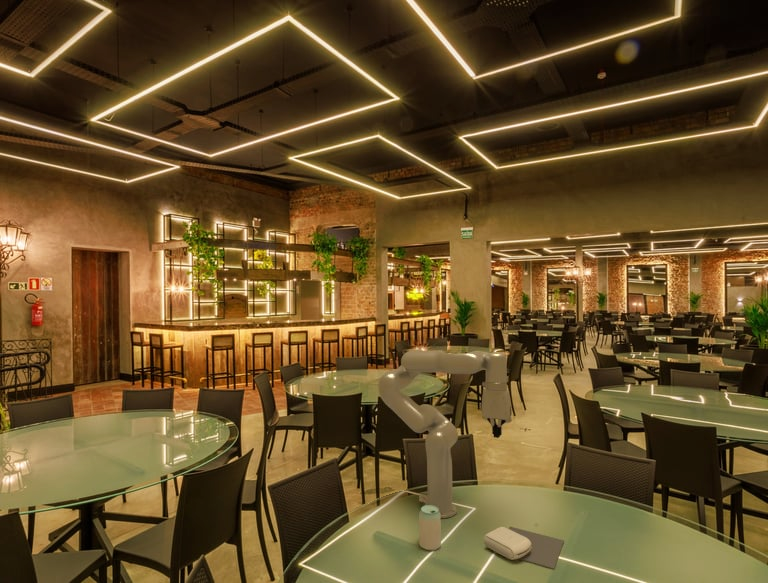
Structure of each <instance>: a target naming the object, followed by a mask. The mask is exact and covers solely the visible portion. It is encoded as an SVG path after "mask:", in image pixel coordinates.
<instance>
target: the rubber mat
mask: <svg viewBox="0 0 768 583" xmlns="http://www.w3.org/2000/svg"><path fill="white" fill-rule="evenodd" d="M508 529H510V530H512V531H514V532H516V533H518V534H520V535H522V536H524V537H526V538H528V539H529V540H530V542H531V547H532V548H531V550H530V551H529V552H528V553H527V554H526V555H525V556H523V557H521V558H518V559H517V560H519V561H523V562H527V563H530V564H534V565H535V566H540V567H542V568H545V569H550V570H555V569H556V566H557V562H558V560H559V557H560V554H561V552H562V549H561V548H563V545H564V542H565V540H563V539H559V538H556V537H552V536H547V535H545V534H544V535H543V534H540V533H536V532H532V531H529V530H526V529H521V528H518V527H513V526H509V527H508ZM560 551H561V552H560ZM494 553H495V554H498V555H500V554H499V553H497V552H495V551H494Z"/></svg>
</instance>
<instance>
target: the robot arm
mask: <svg viewBox="0 0 768 583" xmlns="http://www.w3.org/2000/svg"><path fill="white" fill-rule="evenodd" d="M507 362H508V358H507V355H506V354H505V353H504V352H500V351H499V352H497V351H494V352H492V351H491V352H489V351H488V352H486V351H483V350H473V351H471V352H467V353H464V352H463V353H449V352H444V351H443V350H422V349H418V348H417V349H412V350H408V351H407V352H405V353H404V354H403V355H402V357H401V359H400V364H401V365H400V366H398V367H397V368H395V369H392V370H389V371H387V372H385V373H384V374H383V375H381V377H380V378H379V381H378V394H379V396H380V399H381V400H382V401H383V403H384V404H385V405H386V406H387V407H388V408H390V410H392V412H394V414H396V415H397V416H398V417H399V418H400V419H401V420H402V421H403V422H404V423H405V424H406V425H407V426H408V427H409V428H410V429H411V430H412V431H413V432H415V433H417V434H422V433H424V432H426V431H428V433H427V435H426V437H425V451H426V453H425V454H426V463H427V465H426V467H427V470H426V473H427V495H425V494H422V493H419V495H418V502H420V503H423V506H426V505H433V506H436V507H437V508H438V509H439V510H438V511H439V512H440V514H441V519H447V518H452V517H454V516H456V514H457V506H456V505H455V504H454V503H453V462H452V461H453V460H452V454H451V448H452V447H453V446H454V445H455V444H456V443H457V441H458V438H459V433H458V430H457V428H456V426H455V425H454V424H453V423H452V422H451V421H450V419H448V418H447V417H446V416H445V415H443V414H442V412H440V411H439V410H438V408H436V407H434V406H433V405H432V404H426V403H423V404H421V405H419V404H417V402H415V401H414V400H413V398H411V397H410V396H409V395H407V394H405V393H403V392H402V391H401V390H402V389H404V388H407V387H409V385H411V384H412V383H413V381H415V380H416V379H417V378H418V376H419V375H420V374H421V373H441V374H448V375H449V374H452V375H473V374H476V373H478V372H480V371H484V370H485V381H482V383H481V385H482V386H483V387H485V388H484V389H483V391H482V398H481V408H480V409H481V410H480V411H481V413H480V414H481V419H483V420H485V421H488V423H490V426H491V431H492V432H491V434H492V435H493V438H497V439H499V438H500V437H501V436H502V434H503V433H502V430H503V428H502V426H503V425H504V424H509V423H512V421H513V419H512V401H511V396H510V391H509V390H508V375H507V374H508V372H507V371H508V370H507V368H508V366H507V365H508V363H507Z"/></svg>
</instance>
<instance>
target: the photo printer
mask: <svg viewBox="0 0 768 583" xmlns="http://www.w3.org/2000/svg"><path fill="white" fill-rule="evenodd" d="M483 538H484V539H483V543H484V545H485V547H486V548H488V549H490V550H492V551H494V553H495V552H497V553H496V554H498V553H499V554H498V555H501V556H503V557H505V558H506V559H508V560H512V561H513V560H519V559H518V558H521V557H523V556H525V555H526V554H527V553H528V552H529V551H530V550H531V548H532V547H531V542H530V540H529V539H528V538H526V537H524V536H522V535H520V534H518V533H516V532H514V531H512V530H510V529H509V527H508V528H507V527H505V526H500V527H498V528H496V529H494V530H492V531H488V533H486V534H485V536H484V537H483Z"/></svg>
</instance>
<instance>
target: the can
mask: <svg viewBox="0 0 768 583" xmlns="http://www.w3.org/2000/svg"><path fill="white" fill-rule="evenodd" d="M438 510H439V509H438V508H437V507H436V506H433V505H426V506H424V505H423V506H422V507H421V508H420V511H419V513H418V522H419V524H418V528H419V529H418V532H419V535H418V539H419V541H418V542H419V546H420V547H421V548H423V549H424V550H426V551H435V550H437V549H439V548H440V547H441V545H442V541H441V540H442V538H441V537H442V534H441V533H442V532H441V528H442V526H441V525H442V522H441V519H442V518H441V514H440V512H439V511H438Z"/></svg>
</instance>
